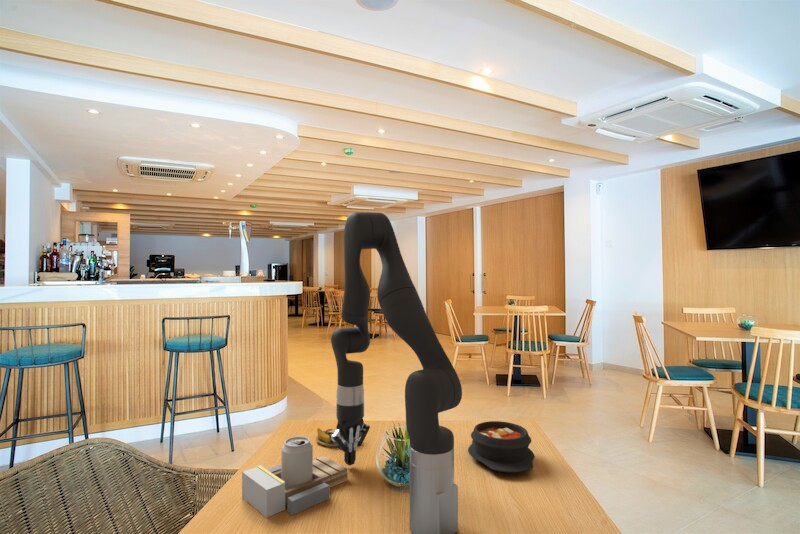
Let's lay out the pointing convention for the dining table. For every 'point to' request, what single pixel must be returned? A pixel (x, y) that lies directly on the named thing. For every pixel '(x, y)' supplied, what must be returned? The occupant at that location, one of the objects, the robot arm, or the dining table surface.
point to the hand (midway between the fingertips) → (350, 463)
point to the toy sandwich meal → (326, 437)
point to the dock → (277, 492)
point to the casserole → (502, 446)
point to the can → (296, 461)
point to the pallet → (320, 476)
